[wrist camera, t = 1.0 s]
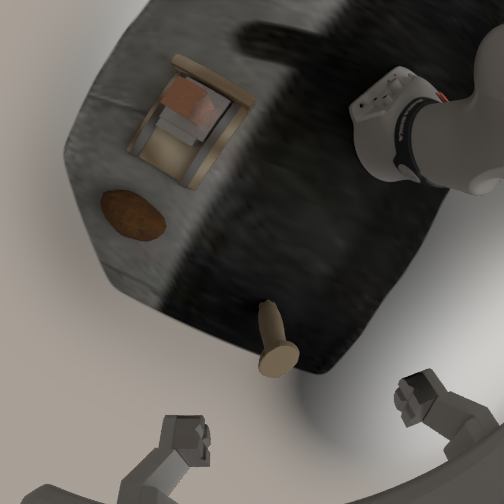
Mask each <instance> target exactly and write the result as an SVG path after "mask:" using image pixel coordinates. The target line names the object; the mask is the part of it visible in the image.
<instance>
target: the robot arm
mask: <svg viewBox="0 0 504 504" xmlns="http://www.w3.org/2000/svg"><path fill="white" fill-rule="evenodd" d="M408 74H409V76H408ZM474 81H475V89H474V92H473V94H472V95H471V96H470V97H468V98H466V99H463V100H457V101H451V102H449V101H448V100H447V99H446V97H445V96H444V95H443V94H442V93H441V92H438V91H437V90H436V89H435V88H434V87H433V86H432V85H431V84H430V83H429V82H427V81H426V80H425V79H423V78H421V77H419V76H417V75H415V74H414V73H413V72H411V71H410V70H408V69H406V68H404V67H401V66H398V67H395V68H393V69H392V70H391V71H390V72H388V73H387V74H386V75H385V76H384V77H382V78H381V79H380V80H379V81H378V82H376V83H375V84H374V85H373V86H371V87H370V88H369V89H368V90H367V91H366V92H364V93H363V94H362V95H361V96H360V97H358V98H357V99H356V100H355V101H354V102H353V103H351V105H350V106H349V112H350V116H351V118H352V121H353V124H354V145H355V149H356V153H357V155H358V158H359V160H360V162H361V163H362V165H363V166H364V168H365V169H366V170H367V171H368V172H369V173H370V174H371V175H373V176H374V177H376V178H378V179H380V180H382V181H387V182H395V181H399V180H408V179H410V180H412V181H415V182H418V183H421V184H425V185H429V186H433V187H438V188H444V187H448V188H451V189H455V190H458V191H461V192H465V193H468V194H471V195H474V196H483V195H486V194H488V193H490V192H491V191H492V190H493V189H495V188H496V187H497V186H498V184H499V183H500V182H501V180H502V179H504V24H502V25H499V26H497V27H496V28H494V29H493V30H491V31H490V32H489V33H488V34H487V35H486V36H485V38H484V39H483V41H482V42H481V44H480V46H479V48H478V51H477V54H476V58H475V64H474ZM439 93H440V94H439ZM360 104H362V108H361V107H360ZM398 385H399V388H398V389H397V390H396V391H395V394H394V402H395V406H396V408H397V410H399V411H401V412H402V415H401V418H402V419H403V422H404V423H405V425H406V427H409V426H412V425H415V424H417V423H419V422H422V421H423V423H424V424H426V425H427V426H429V427H430V428H432V429H433V430H435V431H436V432H438V433H439V434H441V435H442V436H444V437H445V438H447V439H449V440H450V442H449V443H448V444H447V445H446V446H445V448H444V453H445V455H446V457H447V459H448V461H447V462H445V463H444V464H442V465H440V466H438V467H436V468H434V469H432V470H430V471H428V472H427V473H425V474H422V475H420V476H418V477H416V478H414V479H412V480H410V481H407V482H405V483H403V484H400V485H398V486H396V487H393V488H391V489H388V490H386V491H383V492H380V493H377V494H375V495H372V496H369V497H366V498H363V499H360V500H357V501H354V502H350V503H346V504H504V423H503V424H501V425H500V426H499V424H498V423H497V421H496V420H495V418H494V417H493V415H492V414H491V412H490V411H489V409H488V408H487V407H485V406H483V405H480V404H478V403H476V402H474V401H471V400H469V399H467V398H464V397H462V396H460V395H458V394H455V393H453V392H451V391H450V392H447V390H446V389H445V387H444V386H443V384H442V383H441V381H440V380H439V379H438V377H437V376H436V374H435V373H434V372H433V370H432V369H430V368H429V369H426V370H423V371H421V372H418V373H415V374H413V375H410V376H408V377H405V378H402V379H401V380H400V381H399V383H398ZM210 440H211V438H210V431H209V427H208V426H207V425H206V424H205V419H204V417H203V416H202V415H194V416H193V415H191V416H190V415H189V416H184V415H180V416H179V415H165V417H164V420H163V425H162V430H161V436H160V442H159V448H155V449H154V450H153V451H151V452H150V453H149V454H148V455H147V456H146V458H145V459H143V460H142V461H141V462H140V463H139V464H138V465H137V466H136V467H135V468H134V469H133V470H132V471H131V472H130V473H129V474H128V475H127V476H126V477H125V478H124V479H123V480H122V481H121V485H120V490H119V495H118V500H117V504H178V503H176V502H175V501H174V500H172V499H171V498H169V497H168V496H169V494H170V493H171V492H172V491H173V489H174V488H175V487H176V485H177V484H178V483H179V482H180V480H181V479H182V478H183V476H184V475H185V474H186V472H187V471H188V469H189V467H208V466H210V452H209V451H208V449H207V448H208V447H209V446H210ZM21 504H104V503H100V502H97V501H94V500H91V499H88V498H85V497H82V496H79V495H76V494H73V493H71V492H68V491H66V490H63V489H61V488H58V487H56V486H53V485H50V484H45V485H43V486H40V487H39V488H37V489H35V490H34V491H32V492H31V493H29V494H28V495H26V496H25V497H24V498H23V500H22V502H21Z"/></svg>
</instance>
